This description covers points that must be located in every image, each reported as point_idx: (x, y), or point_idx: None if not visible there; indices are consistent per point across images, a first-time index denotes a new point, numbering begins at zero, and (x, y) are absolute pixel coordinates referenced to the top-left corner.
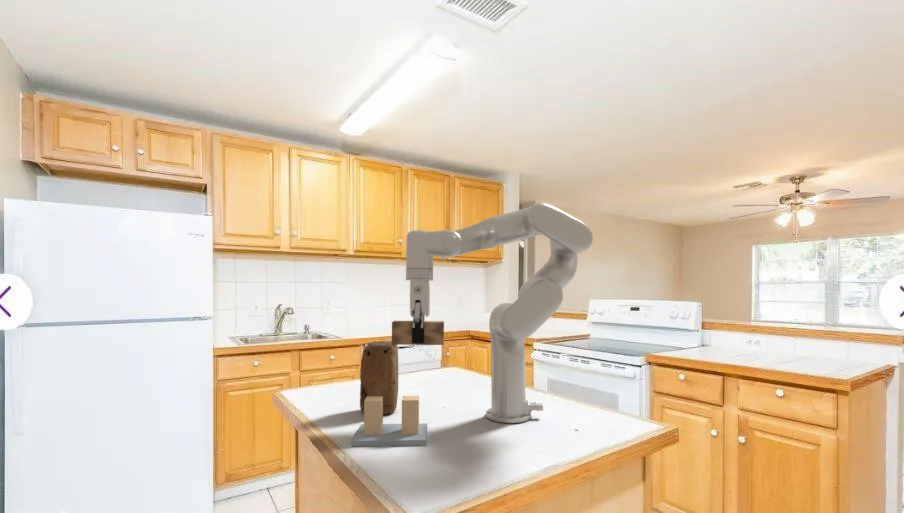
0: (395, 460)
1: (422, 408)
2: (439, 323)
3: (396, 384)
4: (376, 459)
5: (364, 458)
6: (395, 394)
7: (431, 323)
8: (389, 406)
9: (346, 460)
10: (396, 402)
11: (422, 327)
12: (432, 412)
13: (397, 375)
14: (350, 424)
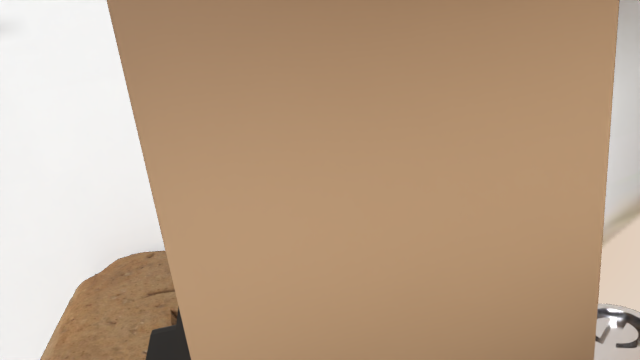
0: (630, 101)
1: (48, 141)
2: (598, 11)
3: (139, 308)
4: (619, 157)
5: (610, 192)
6: (170, 280)
7: (584, 212)
8: None
9: (618, 232)
10: (135, 263)
11: (632, 314)
12: (108, 77)
13: (96, 341)
14: None
